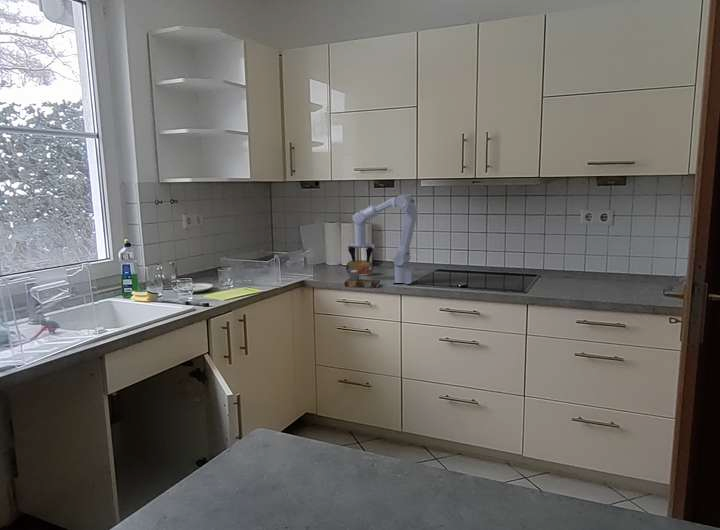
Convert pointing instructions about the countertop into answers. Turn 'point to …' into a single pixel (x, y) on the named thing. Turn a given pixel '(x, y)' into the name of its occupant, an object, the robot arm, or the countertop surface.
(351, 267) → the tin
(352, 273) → the plug
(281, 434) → the countertop surface
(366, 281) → the brown flat block
